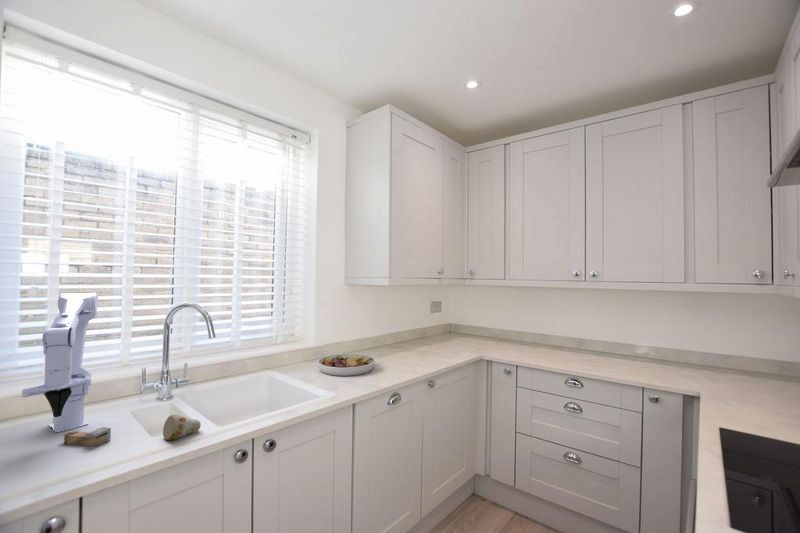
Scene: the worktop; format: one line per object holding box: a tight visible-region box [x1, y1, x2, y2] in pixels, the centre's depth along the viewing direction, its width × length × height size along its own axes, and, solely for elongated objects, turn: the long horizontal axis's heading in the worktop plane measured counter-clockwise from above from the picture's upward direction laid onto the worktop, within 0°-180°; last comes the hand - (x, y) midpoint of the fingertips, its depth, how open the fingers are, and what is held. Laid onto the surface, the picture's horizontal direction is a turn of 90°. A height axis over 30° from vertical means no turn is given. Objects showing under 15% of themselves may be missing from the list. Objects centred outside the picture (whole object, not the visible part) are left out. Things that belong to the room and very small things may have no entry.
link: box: [63, 429, 108, 447], centre depth 108 cm, size 12×3×3 cm, turn 83°
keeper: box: [86, 426, 112, 443], centre depth 108 cm, size 3×5×4 cm, turn 169°
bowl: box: [317, 354, 376, 377], centre depth 195 cm, size 30×30×8 cm
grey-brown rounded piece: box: [162, 414, 201, 441], centre depth 114 cm, size 8×10×10 cm
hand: (57, 416), depth 107 cm, fingers closed
